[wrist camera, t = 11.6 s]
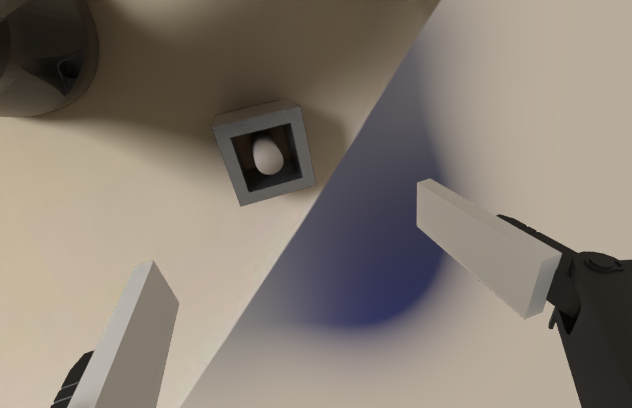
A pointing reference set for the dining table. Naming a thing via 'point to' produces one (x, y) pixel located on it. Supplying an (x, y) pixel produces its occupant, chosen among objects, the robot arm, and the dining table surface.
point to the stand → (264, 149)
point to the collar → (252, 181)
